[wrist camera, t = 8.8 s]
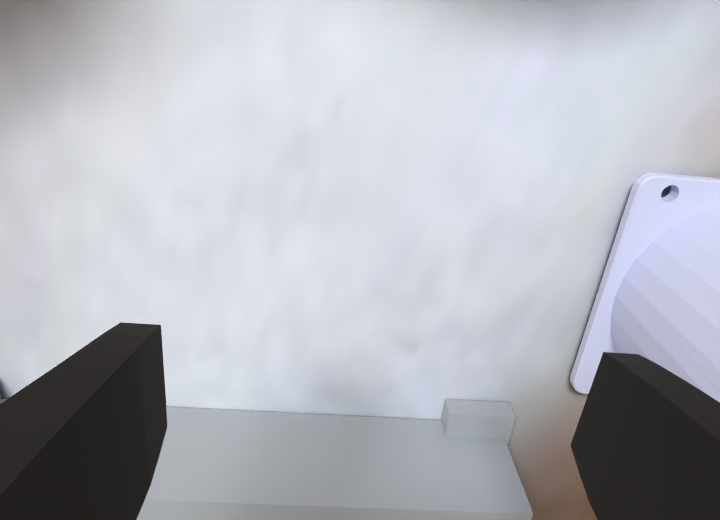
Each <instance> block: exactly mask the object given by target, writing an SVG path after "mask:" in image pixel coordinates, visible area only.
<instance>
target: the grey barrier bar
mask: <svg viewBox="0 0 720 520" xmlns="http://www.w3.org/2000/svg"><path fill="white" fill-rule="evenodd" d="M5 400H7V399H3V398H1V394H0V404H1V403H2V402H4V401H5ZM166 411H167V430H166V434H165V437H164V441H163V444H162V448H161V452H160V455H159V459H158V462H157V466H156V469H155V472H154V476H153V479H152V482H151V486H150V488H149V491H148V493H147V496H146V498H145V500H144V503H143V505H142V508H141V510H140V512H139V515H138V517H137V520H532V517H533V511H532V509H531V506H530V504H529V501H528V498H527V496H526V493H525V491H524V488H523V485H522V483H521V480H520V477H519V475H518V472H517V470H516V467H515V464H514V462H513V459H512V457H511V454H510V451H509V449H508V444H509V440H510V437H511V433H512V430H513V426H514V423H515V419H516V416H515V414H514V411H513V409H512V407H511V404H510V402H495V401H476V400H457V399H445V403H444V408H443V413H442V417H441V420H427V419H407V418H387V417H367V416H346V415H326V414H306V413H286V412H266V411H245V410H225V409H205V408H185V407H166Z"/></svg>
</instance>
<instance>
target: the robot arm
mask: <svg viewBox="0 0 720 520" xmlns="http://www.w3.org/2000/svg"><path fill="white" fill-rule="evenodd" d="M670 185H672V188H671V191H670V193H669V194H668V195H667V196H665V197H662V198H661V193H662V191H663V190H664V188H666V187H667V186H670ZM570 382H571V384H572V386H573V388H574V389H575V390H576V391H577V392H578V393H582V394H588V397H587V400H586V403H585V405H584V408H583V411H582V414H581V417H580V420H579V423H578V425H577V428H576V431H575V434H574V437H573V440H572V443H571V448H572V451H573V454H574V457H575V461H576V464H577V467H578V470H579V473H580V476H581V479H582V482H583V485H584V488H585V490H586V493H587V496H588V499H589V502H590V504H591V506H592V508H593V511H594V513H595V515H596V517H597V519H598V520H720V178H710V177H699V176H688V175H677V174H665V173H654V172H653V173H646V174H644V175H642V176H640V177H639V178H638V179H637V180H636V181H635V182H634V184H633V186H632V188H631V191H630V194H629V198H628V201H627V204H626V207H625V210H624V213H623V216H622V219H621V222H620V225H619V228H618V231H617V234H616V237H615V240H614V244H613V247H612V250H611V253H610V256H609V259H608V262H607V265H606V268H605V271H604V274H603V277H602V280H601V283H600V286H599V290H598V293H597V296H596V299H595V302H594V305H593V308H592V311H591V314H590V317H589V320H588V323H587V326H586V329H585V332H584V336H583V339H582V342H581V345H580V348H579V351H578V354H577V357H576V360H575V363H574V366H573V369H572V372H571V375H570ZM166 430H167V411H166V396H165V382H164V367H163V352H162V337H161V325H151V324H135V323H119V324H118V325H116V326H115V327H113V328H111V329H110V330H108V331H107V332H105V333H104V334H102V335H101V336H99V337H98V338H96V339H95V340H93V341H92V342H91V343H89V344H88V345H86V346H85V347H83V348H82V349H80V350H79V351H78V352H76V353H75V354H73V355H72V356H70V357H69V358H68V359H66V360H65V361H63V362H62V363H60V364H59V365H57V366H56V367H54V368H53V369H52V370H50V371H49V372H47V373H46V374H44V375H43V376H41V377H40V378H38V379H37V380H35V381H34V382H32V383H31V384H29V385H28V386H26V387H25V388H23V389H22V390H20V391H19V392H18V393H16V394H15V395H13V396H12V397H10V398H9V399H7V400H5V401H4V402H2V403H1V404H0V520H137V517H138V515H139V512H140V510H141V508H142V505H143V503H144V500H145V498H146V496H147V493H148V491H149V488H150V486H151V482H152V479H153V476H154V472H155V469H156V466H157V462H158V459H159V455H160V452H161V448H162V444H163V441H164V437H165V434H166Z"/></svg>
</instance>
